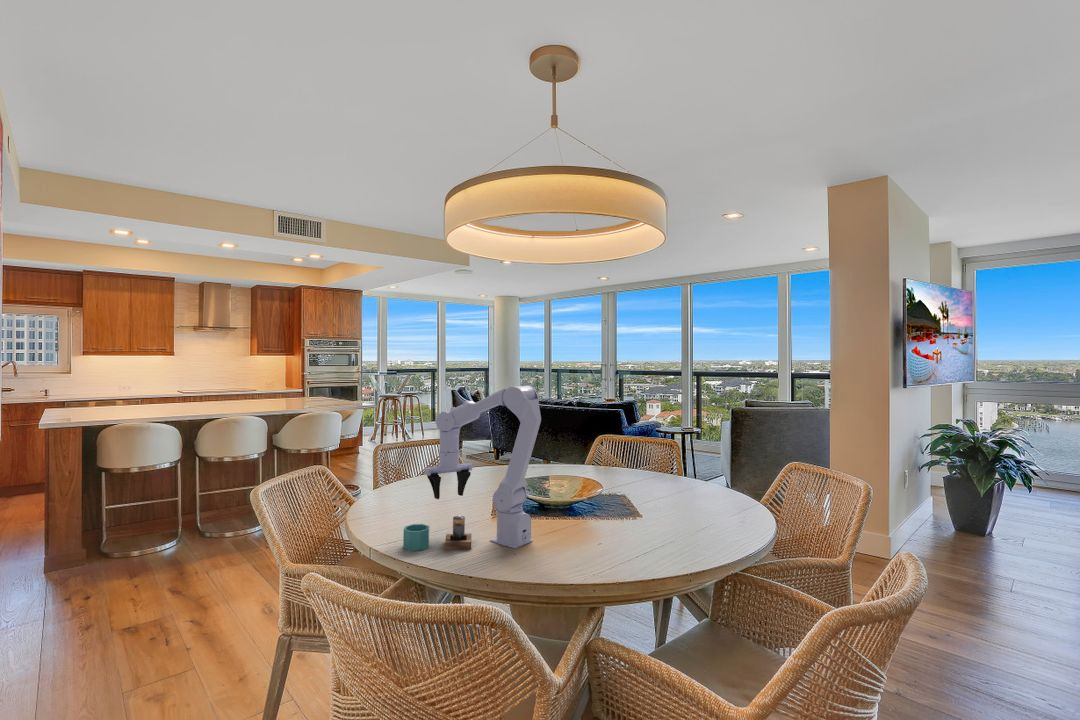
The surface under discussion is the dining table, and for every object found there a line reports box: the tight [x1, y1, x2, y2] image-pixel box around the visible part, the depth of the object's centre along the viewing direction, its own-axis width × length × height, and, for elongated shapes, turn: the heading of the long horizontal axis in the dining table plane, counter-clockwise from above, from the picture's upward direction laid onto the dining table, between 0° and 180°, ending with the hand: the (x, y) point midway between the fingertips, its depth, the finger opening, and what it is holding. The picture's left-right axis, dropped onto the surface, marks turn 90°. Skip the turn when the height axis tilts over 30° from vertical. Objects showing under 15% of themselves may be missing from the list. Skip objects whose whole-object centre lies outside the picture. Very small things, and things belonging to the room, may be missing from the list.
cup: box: [402, 523, 430, 552], centre depth 146 cm, size 7×7×5 cm
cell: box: [452, 514, 466, 541], centre depth 147 cm, size 3×3×8 cm
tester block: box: [444, 533, 472, 551], centre depth 147 cm, size 7×7×2 cm
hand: (448, 496), depth 161 cm, fingers open, 7 cm apart
